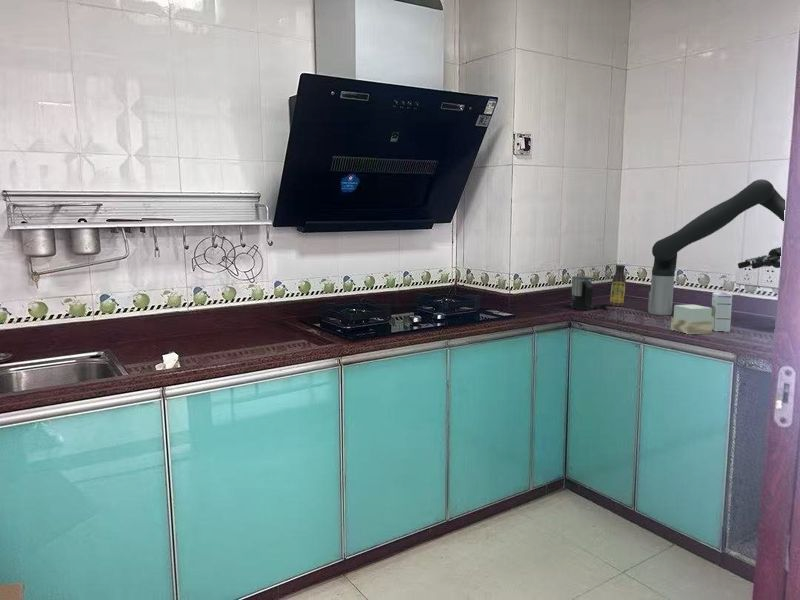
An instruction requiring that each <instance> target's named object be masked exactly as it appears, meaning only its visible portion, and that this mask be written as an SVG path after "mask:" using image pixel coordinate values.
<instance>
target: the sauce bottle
mask: <svg viewBox="0 0 800 600" xmlns="http://www.w3.org/2000/svg"><path fill="white" fill-rule="evenodd" d="M625 268H626V265H625V264H616V265H615V274H614V275H613V277H612V280H611V281H612V282H611V288H610V297H609V298H610V299H609V304H610V305H609V306H613V307H622V306H623V305H624V300H625V293H626V280H627V279H626V276H625Z"/></svg>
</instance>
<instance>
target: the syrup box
mask: <svg viewBox="0 0 800 600" xmlns="http://www.w3.org/2000/svg"><path fill="white" fill-rule="evenodd" d="M732 307H733V294H731V293H729V292H721V291H720V292H719V291H718V292H716V291H715V292H712V298H711V308H712V313H711V321H712V322H713V324H712V332H713V331H714V332H718V331H724V333H730V332H731V321H732Z"/></svg>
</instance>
